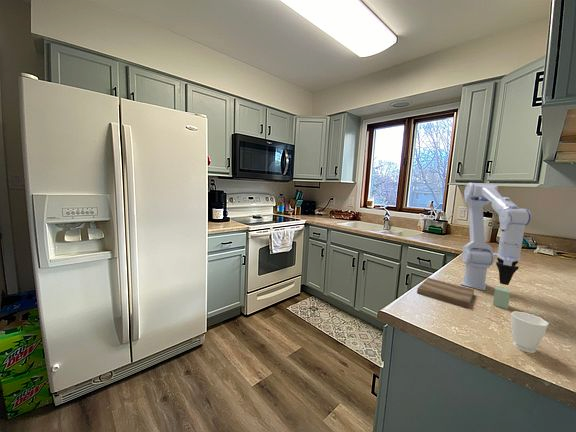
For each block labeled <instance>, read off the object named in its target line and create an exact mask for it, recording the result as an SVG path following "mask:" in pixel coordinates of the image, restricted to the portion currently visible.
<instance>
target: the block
mask: <svg viewBox="0 0 576 432" xmlns="http://www.w3.org/2000/svg"><path fill="white" fill-rule="evenodd" d="M511 292H512V291H511V289H509V288H505V287H501V286H498V285H497V286H495V289H494V295H493V300H492V306H493V307H498V308H502V309H505V310H509V304H510V299H511V298H510V297H511Z"/></svg>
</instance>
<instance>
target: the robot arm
mask: <svg viewBox="0 0 576 432" xmlns="http://www.w3.org/2000/svg"><path fill="white" fill-rule="evenodd" d="M498 190H499V186H498V185H497V184H496V183H480V182H479V183H477V182H468V183H467V184H466V185H465V188H464V191H463V193H464V203H465V204H467V206H468V208H467V209H468V210H467V211H468V227H469V242H467V243H466V244H465V245H463V247H462V252H461V260H462V262H463V263H464V264H465V268H464V276H463V279H462V281H461V285H460V286H463V287H467V288H471V289H477V290H480V291H485V290H486V287H487V283H486V280H487V272H488V268H490V267H492V265H493V264H494V263H495V265H496V267H497V270H498V277H499V278H498V279H499V284H501V285H506V286H509V284H510V283H511V280H512V278H513V276H514V274H515V273H516V272H517V271H518V270H519V267H520V266H516V265H517V264H519V261H521V251H522V247H523V246H522V244H523V242H524V241H523V239H524V234H525V229H526V228H525V227H527V226H528V225H530V223H531V221H532V213H531V211H530V210H529V209H528V208H522V207H521V208H520V207H519V206H518V205H517V204H515V203H514V202H513V201H512V200H511V198H510V197H505V196H502V195H501V194H500V193H499V191H498ZM489 203H491V208H492V210H494V211H495V212H496V214H497V215H498V221H499V228H500V235H499V236H500V237H499V242H498V248H497V252H493V247H492V246H491V245H489V244H488V243H486V237H485V225H484V224H485V221H484V209H483V208H484V206H486V205H488V204H489ZM496 257H497V258H496ZM495 258H496V260H497V261H496V262H495Z"/></svg>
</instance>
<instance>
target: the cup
mask: <svg viewBox="0 0 576 432" xmlns="http://www.w3.org/2000/svg"><path fill="white" fill-rule="evenodd" d="M549 324H550V323H549V322H547V321H546V320H545V319H543V318H542V317H540V316H538V315H537V316H536V315H533V314H531V313H528V312H523V311H517V310H514V311H512V312H511V313H510V326H511V327H510V332H511V337H512V341H513V342H512V345H513V346H514V347H515V348H517V349H519V350H520V351H523V352H525V353H528V354H529V353H530V354H535V353H536V352H537V348H538V346H539V345H540V344H541V342H542V341H543V338H544V335H545V333H546V331H547V329H548V326H549Z"/></svg>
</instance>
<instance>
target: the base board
mask: <svg viewBox="0 0 576 432" xmlns="http://www.w3.org/2000/svg"><path fill="white" fill-rule="evenodd" d="M416 290H417V291H416V293H417V294H420V295H422V296H423V295H424V296H426V297H429V298H432V299H437V300H439V301H443V302H445V303H449V304H453V305H456V306H459V307H462V308H467V309H469V308H470V305H471V302H472V299H473V296H474V293H475V292H474V291H475V288H471V287H467V286H463V285H457V284H453V283H450V282H446V281H443V280H442V281H441V280H439V279H434V278H430V277H427V278H426V279H425V280H424V281H423V282H422V283H421V284H420V285H419V286H418V287H417V289H416Z"/></svg>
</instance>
